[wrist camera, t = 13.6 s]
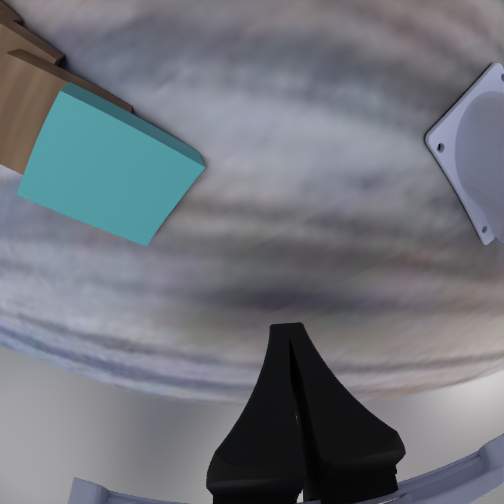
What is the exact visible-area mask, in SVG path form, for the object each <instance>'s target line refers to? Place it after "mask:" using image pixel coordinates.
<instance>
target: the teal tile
mask: <svg viewBox="0 0 504 504" xmlns="http://www.w3.org/2000/svg"><path fill="white" fill-rule="evenodd" d="M204 169H205V166H204V163H203V161H202V158H201V156H200V153H199V152H198V151H197V150H195V149H193V148H192V147H190V146H188V145H186V144H185V143H183V142H181V141H180V140H178V139H176V138H174V137H173V136H171V135H169V134H167V133H166V132H164V131H162V130H160V129H159V128H157V127H155V126H153V125H151V124H150V123H148V122H146V121H144V120H142V119H140V118H139V117H137V116H135V115H133V114H131V113H129V112H128V111H126V110H124V109H122V108H120V107H118V106H116V105H114V104H112V103H111V102H109V101H107V100H105V99H103V98H101V97H99V96H97V95H95V94H93V93H91V92H89V91H87V90H85V89H83V88H81V87H79V86H77V85H75V84H73V83H71V82H69V83H68V84H67V85H65V86H64V87H63V88H62V89H61V90H60V92H59V94H58V96H57V98H56V100H55V101H54V103H53V105H52V107H51V110H50V112H49V114H48V116H47V118H46V120H45V122H44V124H43V127H42V129H41V131H40V133H39V136H38V138H37V141H36V143H35V145H34V148H33V150H32V153H31V156H30V158H29V161H28V164H27V166H26V169H25V172H24V175H23V178H22V181H21V184H20V187H19V190H18V193H17V195H18V196H20V197H23V198H25V199H27V200H30V201H32V202H35V203H37V204H39V205H42V206H44V207H47V208H49V209H52V210H54V211H57V212H59V213H62V214H64V215H67V216H69V217H72V218H74V219H77V220H79V221H82V222H84V223H87V224H89V225H92V226H94V227H97V228H99V229H102V230H105V231H107V232H110V233H112V234H115V235H118V236H120V237H123V238H125V239H128V240H131V241H133V242H136V243H139V244H141V245H144V246H146V245H147V244H148V242H149V241H150V240H151V238H152V237H153V235H154V234H155V233H156V231H157V230H158V229H159V227H160V226H161V224H162V223H163V222H164V220H165V219H166V218H167V216H168V215H169V214H170V212H171V211H172V210H173V208H174V207H175V206H176V204H177V203H178V202H179V200H180V199H181V198H182V196H183V195H184V194H185V193H186V191H187V190H188V189H189V187H190V186H191V185H192V184H193V182H194V181H195V180H196V179H197V177H198V176H199V175H200V174H201V172H202V171H203V170H204Z"/></svg>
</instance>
